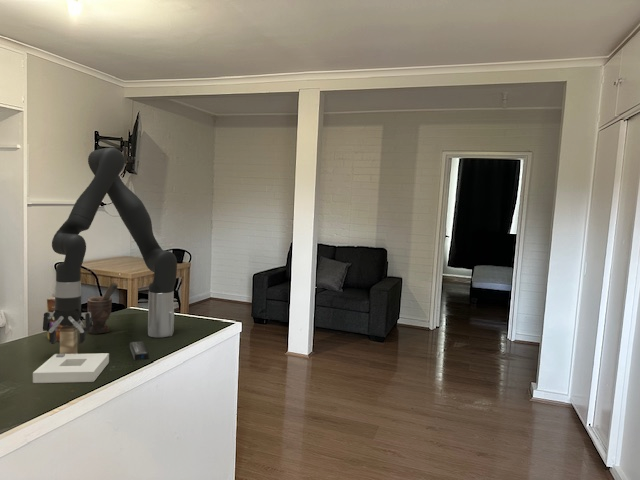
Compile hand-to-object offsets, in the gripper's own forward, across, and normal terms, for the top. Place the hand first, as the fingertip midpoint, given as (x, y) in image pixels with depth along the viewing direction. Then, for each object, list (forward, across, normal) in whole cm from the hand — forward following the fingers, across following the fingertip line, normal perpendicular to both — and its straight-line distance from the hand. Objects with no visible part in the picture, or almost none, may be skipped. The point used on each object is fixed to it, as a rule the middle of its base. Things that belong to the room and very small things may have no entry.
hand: (67, 343), depth 152 cm
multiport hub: (+5, -22, -3) cm, 23 cm away
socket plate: (+5, -6, +14) cm, 16 cm away
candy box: (+5, +9, -19) cm, 21 cm away
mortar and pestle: (+5, -3, -29) cm, 30 cm away
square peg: (+5, 0, 0) cm, 5 cm away
